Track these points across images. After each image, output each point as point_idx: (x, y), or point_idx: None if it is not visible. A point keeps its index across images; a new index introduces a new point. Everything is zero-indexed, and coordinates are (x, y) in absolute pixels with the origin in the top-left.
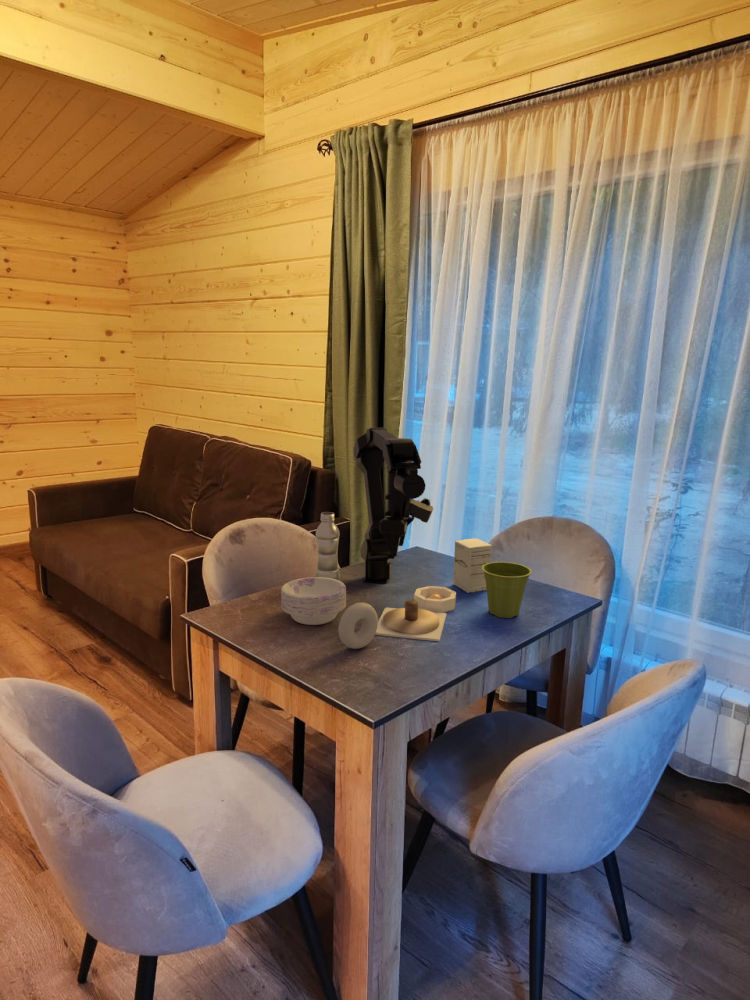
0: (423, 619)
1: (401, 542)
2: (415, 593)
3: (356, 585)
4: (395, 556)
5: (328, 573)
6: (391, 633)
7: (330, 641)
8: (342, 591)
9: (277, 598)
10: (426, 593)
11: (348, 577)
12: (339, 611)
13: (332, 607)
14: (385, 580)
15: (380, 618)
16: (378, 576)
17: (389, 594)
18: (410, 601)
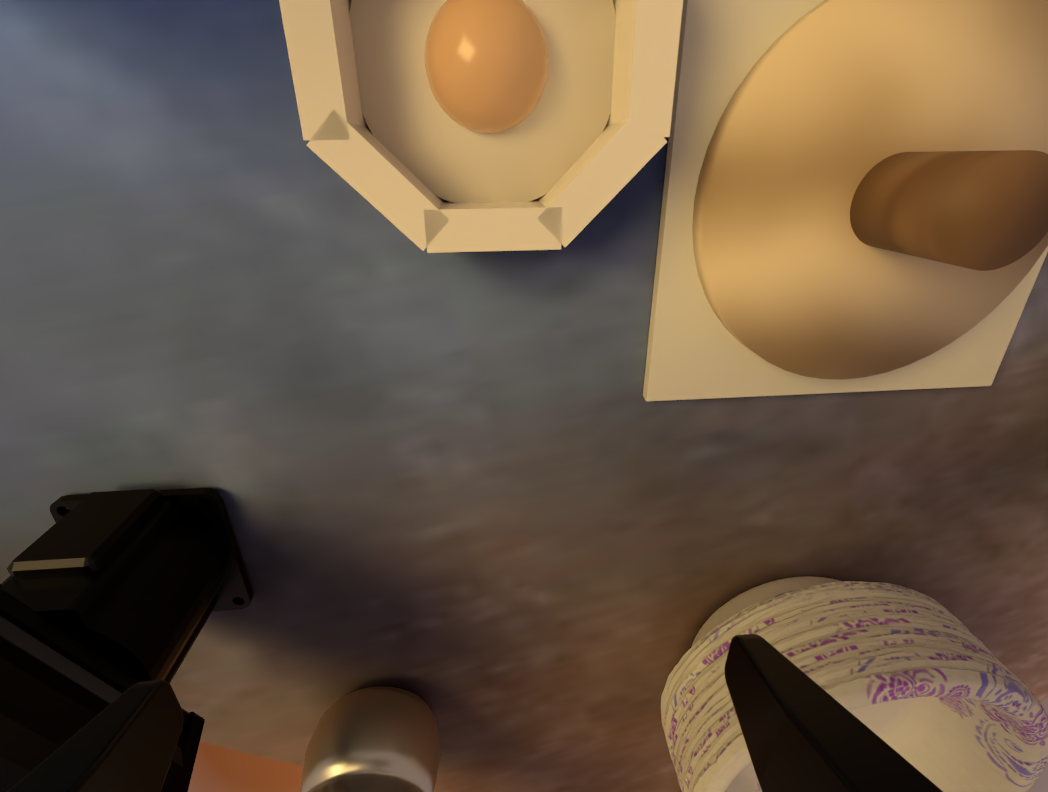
0: (920, 103)
1: (133, 754)
2: (537, 244)
3: (327, 610)
4: (752, 638)
5: (427, 779)
6: (1020, 286)
7: (1021, 520)
8: (959, 678)
9: (595, 785)
10: (397, 162)
11: (226, 670)
12: (906, 589)
13: (971, 634)
14: (190, 503)
15: (811, 389)
16: (202, 558)
17: (394, 427)
18: (987, 227)
